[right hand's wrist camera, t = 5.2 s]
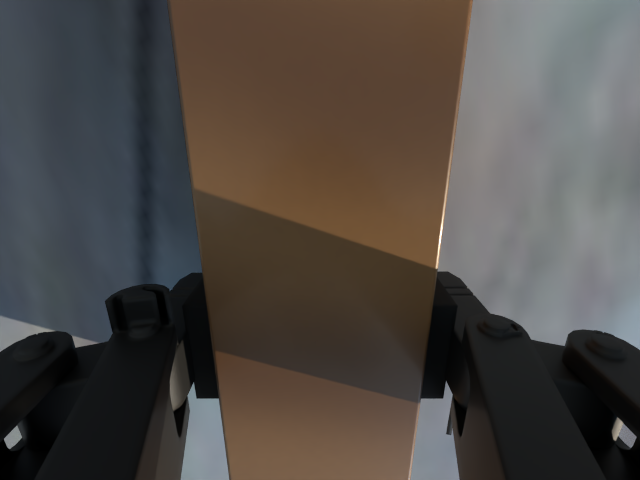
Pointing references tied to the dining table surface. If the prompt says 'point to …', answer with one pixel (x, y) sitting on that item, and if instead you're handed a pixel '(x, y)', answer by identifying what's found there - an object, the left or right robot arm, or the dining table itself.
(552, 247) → the dining table surface
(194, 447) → the dining table surface
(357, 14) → the bar
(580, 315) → the dining table surface
